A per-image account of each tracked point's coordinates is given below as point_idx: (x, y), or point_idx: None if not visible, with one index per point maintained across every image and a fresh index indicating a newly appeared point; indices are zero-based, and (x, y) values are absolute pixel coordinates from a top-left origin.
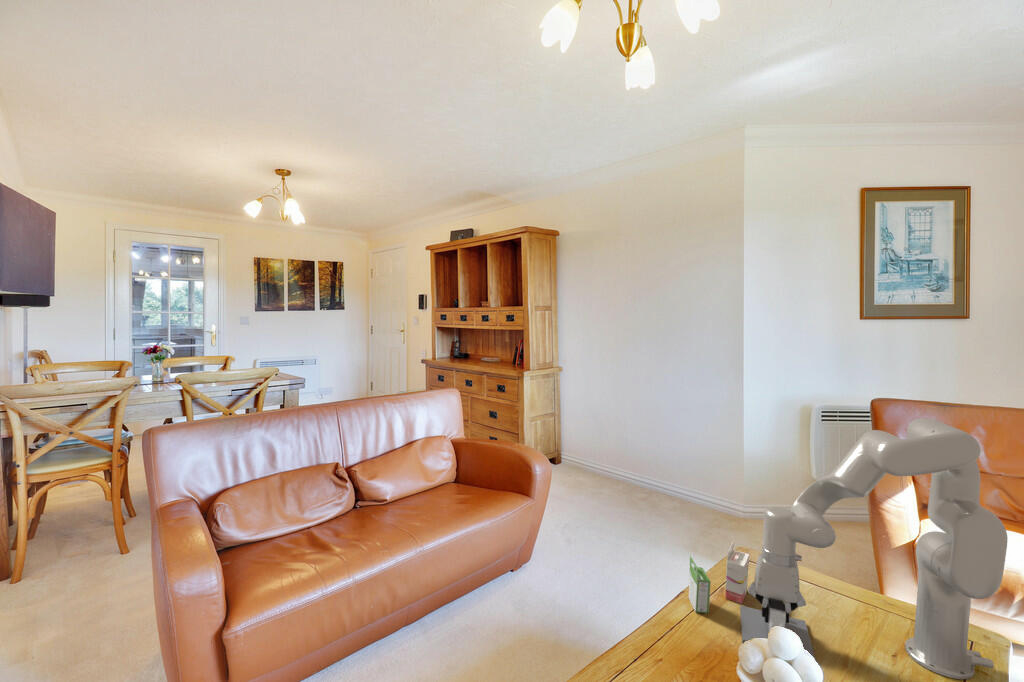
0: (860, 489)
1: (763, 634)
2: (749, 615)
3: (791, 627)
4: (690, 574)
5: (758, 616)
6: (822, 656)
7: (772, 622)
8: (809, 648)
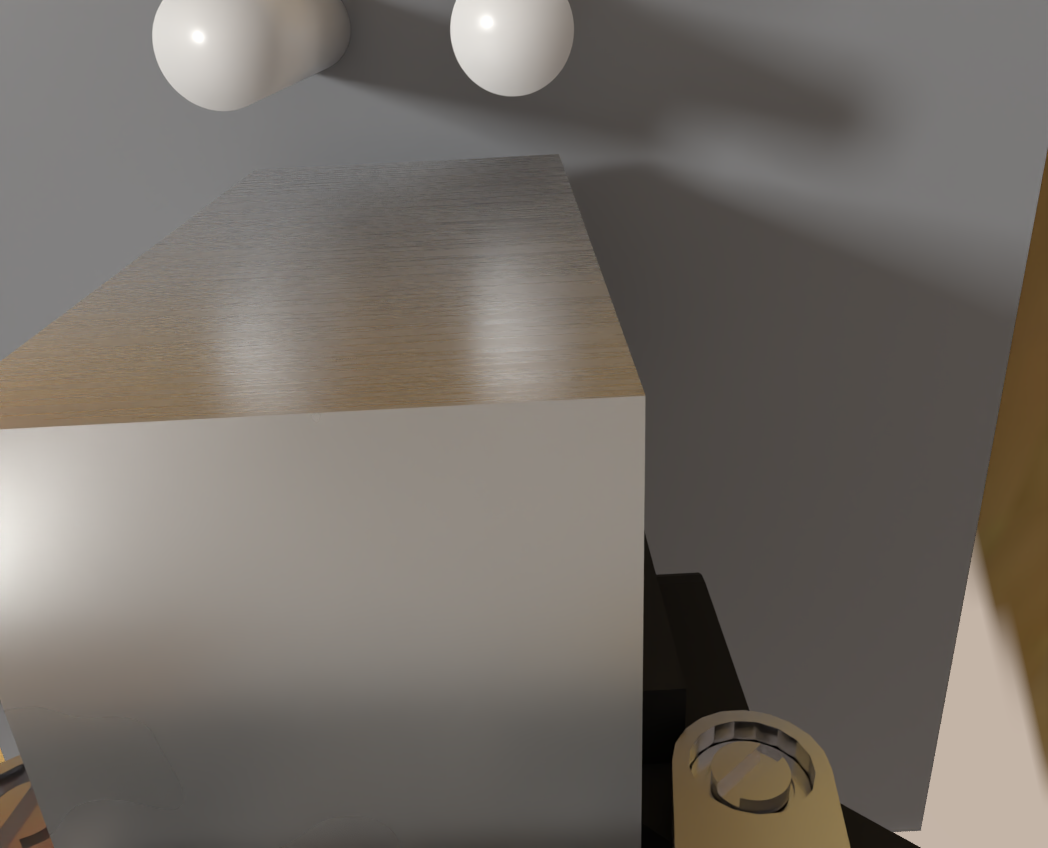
0: None
1: None
2: None
3: (744, 294)
4: None
5: (151, 224)
6: (1036, 650)
7: None
8: (905, 685)
